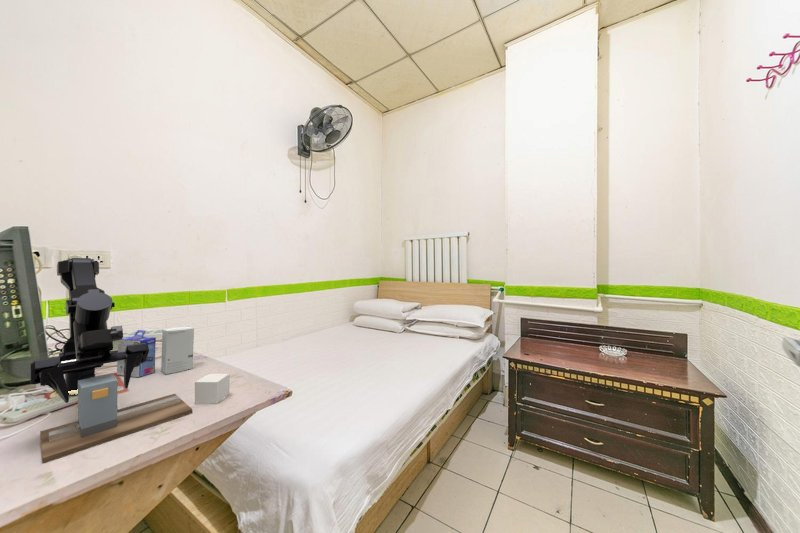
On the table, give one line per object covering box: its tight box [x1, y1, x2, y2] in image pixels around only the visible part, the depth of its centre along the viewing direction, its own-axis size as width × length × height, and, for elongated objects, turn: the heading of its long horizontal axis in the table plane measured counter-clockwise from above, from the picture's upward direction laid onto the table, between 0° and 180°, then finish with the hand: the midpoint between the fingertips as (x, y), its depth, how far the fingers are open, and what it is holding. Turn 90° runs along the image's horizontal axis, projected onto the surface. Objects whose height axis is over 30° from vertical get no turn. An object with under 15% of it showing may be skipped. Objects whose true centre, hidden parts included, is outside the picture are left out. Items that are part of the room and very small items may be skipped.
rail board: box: [39, 393, 193, 464], centre depth 69 cm, size 14×24×2 cm, turn 142°
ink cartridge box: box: [116, 329, 157, 378], centre depth 99 cm, size 10×6×14 cm, turn 78°
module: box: [77, 372, 118, 438], centre depth 65 cm, size 7×6×10 cm
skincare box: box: [160, 325, 195, 376], centre depth 103 cm, size 8×6×15 cm
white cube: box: [194, 373, 231, 405], centre depth 82 cm, size 6×6×6 cm
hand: (98, 394), depth 65 cm, fingers open, 9 cm apart
